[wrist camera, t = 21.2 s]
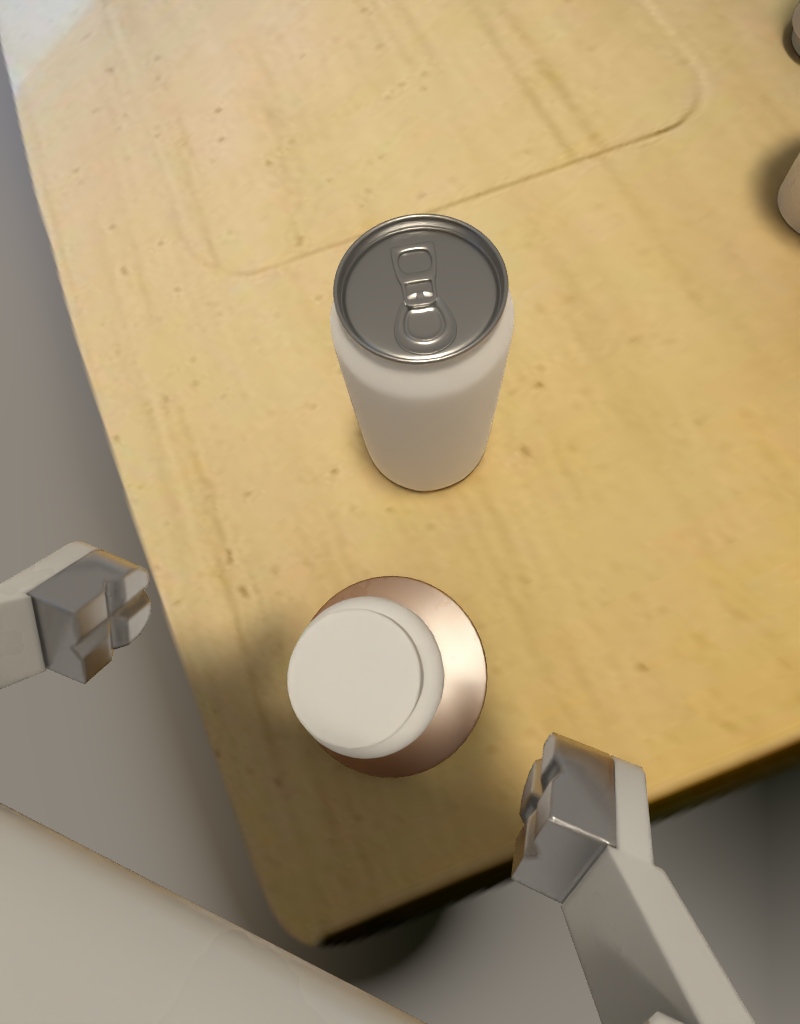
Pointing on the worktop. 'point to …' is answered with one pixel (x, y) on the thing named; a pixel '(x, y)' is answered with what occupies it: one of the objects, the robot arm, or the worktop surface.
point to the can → (423, 344)
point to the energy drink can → (796, 29)
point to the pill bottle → (366, 677)
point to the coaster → (460, 675)
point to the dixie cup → (791, 196)
